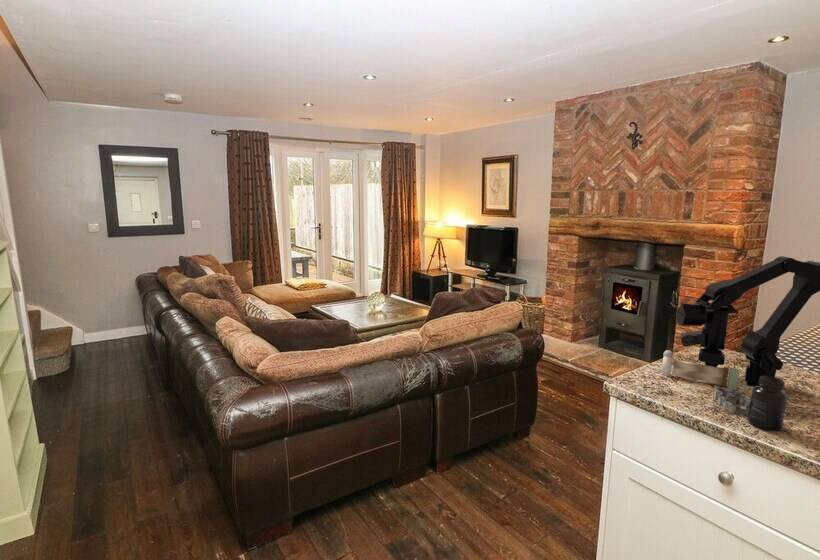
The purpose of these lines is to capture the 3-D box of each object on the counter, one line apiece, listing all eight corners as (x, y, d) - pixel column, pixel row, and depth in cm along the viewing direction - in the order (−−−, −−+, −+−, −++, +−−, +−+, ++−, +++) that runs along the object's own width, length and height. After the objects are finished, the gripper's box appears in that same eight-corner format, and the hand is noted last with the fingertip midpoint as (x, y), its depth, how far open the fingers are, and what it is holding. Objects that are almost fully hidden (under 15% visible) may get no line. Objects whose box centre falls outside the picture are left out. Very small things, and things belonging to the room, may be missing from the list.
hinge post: (670, 374, 144) (673, 350, 143) (670, 376, 142) (673, 352, 140) (661, 372, 145) (664, 348, 144) (660, 375, 143) (663, 350, 142)
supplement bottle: (788, 433, 109) (797, 386, 107) (755, 430, 110) (763, 383, 108) (772, 420, 116) (780, 375, 113) (741, 417, 117) (748, 372, 115)
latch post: (735, 386, 136) (738, 369, 135) (736, 390, 133) (738, 373, 132) (727, 384, 137) (730, 368, 136) (727, 388, 134) (730, 371, 133)
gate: (672, 375, 142) (674, 359, 141) (672, 373, 143) (674, 357, 142) (726, 385, 134) (728, 369, 133) (726, 383, 136) (728, 367, 135)
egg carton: (756, 418, 117) (758, 403, 116) (721, 413, 119) (724, 398, 119) (742, 400, 127) (744, 386, 126) (710, 396, 129) (713, 382, 128)
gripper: (686, 313, 148) (680, 359, 151) (681, 330, 133) (675, 380, 136) (728, 319, 142) (720, 366, 145) (728, 337, 127) (720, 389, 130)
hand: (708, 375), depth 139 cm, fingers closed
